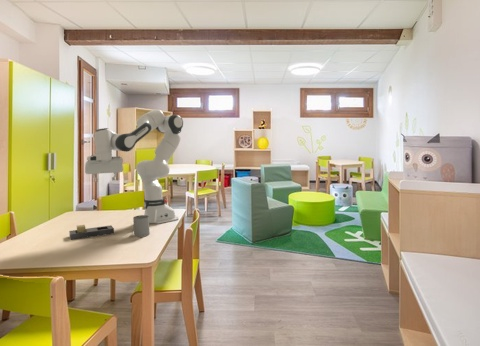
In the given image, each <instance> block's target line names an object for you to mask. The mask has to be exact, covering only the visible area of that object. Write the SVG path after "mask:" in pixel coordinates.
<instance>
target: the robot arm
mask: <svg viewBox="0 0 480 346" xmlns="http://www.w3.org/2000/svg"><path fill="white" fill-rule="evenodd" d="M136 127H137V128H135V129H133V130H132V131H131V132H129V133H116V132H115V131H114V132H113V130H110V128H108V127H103V128H98V129H96V130H95V132H94V136H93V137H94V147H95V148H94V149H95V150H94V154H91V155H89V156H86V162H85V164H84V173H85V174H86V175H91V176H92V177H93V179H94V181H93V182H95V183H98V180H99V179H98V177H95V176H96V175H97V174H100V175H101V174H113V177H111V181H116V177H117V176H118V175H117V174H118V173H123V171H124V167H123V164H124V163H123V162H124V159H123V158H122V156H119V155H118V156H113V154H112V153H113V152H112V151H119V152H130V151H132V150H133V149H134V148H135V146H136V144H137V143H138V142H139V141H141V140H142V139H143V138H144V137H146V136H147V135H148V134H150V132H152V131H154V130H157V131H158V132H159V133H160V134H164V136H163V138H162V139H161V141H160V142H159V143H158V145H157V146H156V148H155V150H154V155H155V156H154V158H153V159H152V160H148V159H145V160H141V161H139V162H138V163H137V164H136V167H135V169H136V172H137V174H138V176H139V177H140V179H141V182H142V185H143V190H144V191H143V192H144V200H143V201H144V202H143V207H144V212H143V213H144V215H147V216H149V224H163V223H169V222H174V221H179V219H180V218H179V216H178V215H176V214H175V210H174V208H172V207H171V206H170V205H168V204H167V203H168V199H165V198H163V186H162V184H160V182H159V180H158V179H163V178H167V177H168V175H169V174H170V166H169V163H170V160H171V158H172V156H173V155H174V153H175V152H176V150H177V149H178V146H179V144H180V141H181V136H180V133H181V132H182V129H183V127H184V120H183V118H182V117H181V116H180V115H178V114H171V115H165V114H164V113H163V111H162V110H160V109H157V108H155V109H153V110H150V111H148V112H146V113H144V114H143V115H141V116H139V118H138V119H137V120H136Z"/></svg>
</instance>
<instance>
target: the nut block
mask: <svg viewBox="0 0 480 346" xmlns="http://www.w3.org/2000/svg"><path fill="white" fill-rule="evenodd" d="M85 229H86V225H85V224H80V225H78V224H77V225H76V230H77V233H81V232H86V230H85Z"/></svg>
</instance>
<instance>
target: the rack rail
mask: <svg viewBox="0 0 480 346" xmlns="http://www.w3.org/2000/svg"><path fill="white" fill-rule="evenodd" d="M85 230H86V232H81V233H77V229H74V230H69V231H68V232H69V238H70V241H73V240H80V239H81V240H82V239H86V238H87V239H88V238H93V237H101V236H107V235H114V234H115V228H114V227H113V226H112V224H111V225H104V226H97V227H96V226H95V227H87V228H85Z"/></svg>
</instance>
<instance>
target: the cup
mask: <svg viewBox="0 0 480 346" xmlns="http://www.w3.org/2000/svg"><path fill="white" fill-rule="evenodd" d="M132 220H133V221H132V222H133V236H134V237H136V236H137V237H138V238H139V237H142V238H143V237H147V236H149V235H150V234H151V233H150V232H151V231H150V223H149V216H147V215H143V214H140V215H135V216H133V219H132Z"/></svg>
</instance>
